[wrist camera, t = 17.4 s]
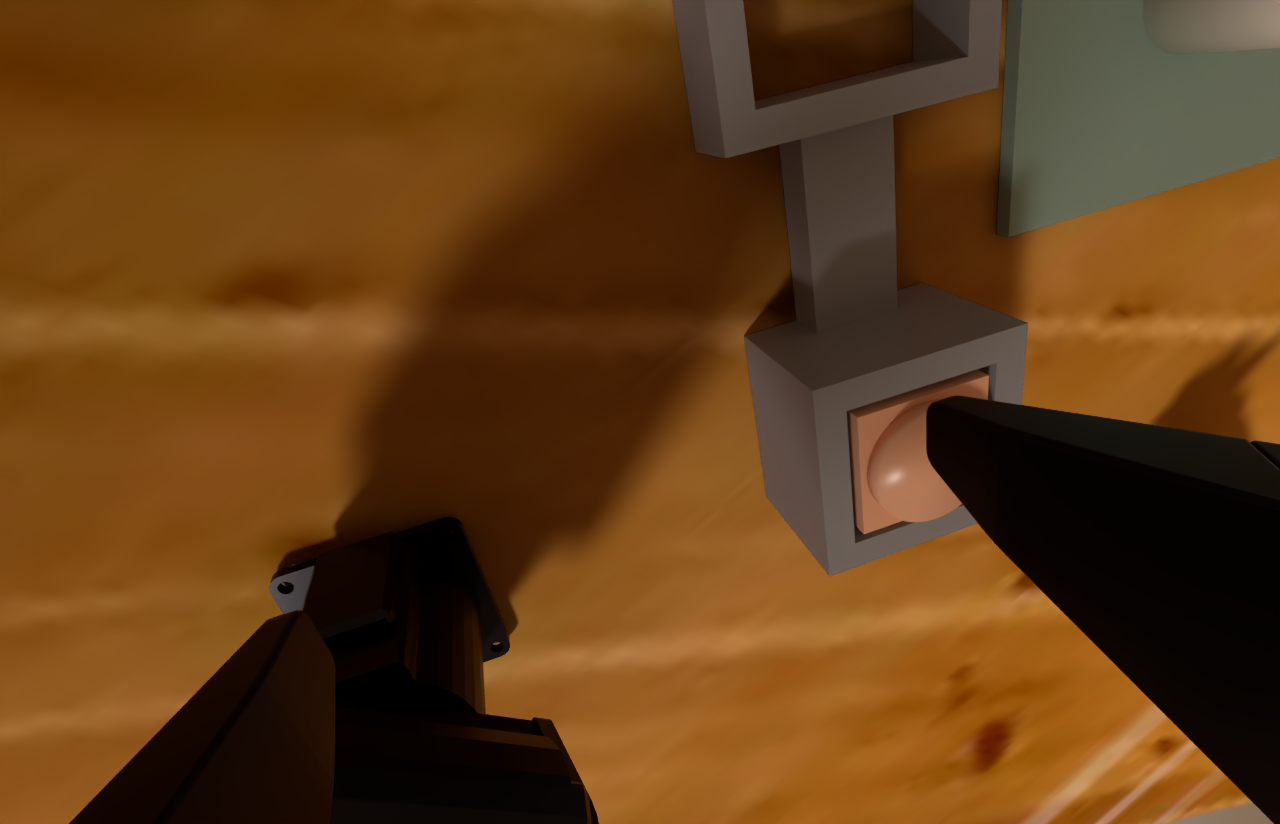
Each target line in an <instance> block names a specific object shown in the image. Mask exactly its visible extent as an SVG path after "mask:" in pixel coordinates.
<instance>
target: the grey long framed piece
mask: <svg viewBox="0 0 1280 824" xmlns="http://www.w3.org/2000/svg"><path fill="white" fill-rule="evenodd" d="M672 2H673V8H674V15H675V21H676V27H677V34H678V40H679V47H680V53H681V60H682V66H683V72H684V79H685V85H686V92H687V98H688V105H689V111H690V117H691V124H692V130H693V137H694V143H695V150H696V152H697V153H702V154H707V155H712V156H717V157H721V158H729V157H733V156H737V155H741V154H745V153H748V152H752V151H756V150H760V149H764V148H768V147H772V146H775V145H779V149H780V159H781V169H782V179H783V189H784V199H785V209H786V219H787V229H788V240H789V250H790V260H791V270H792V280H793V290H794V300H795V310H796V321H793V322H789V323H786V324H783V325H779V326H776V327H773V328H769V329H766V330H763V331H759V332H756V333H753V334H749V335H746V336H744V339H745V346H746V354H747V361H748V368H749V375H750V382H751V389H752V396H753V403H754V410H755V418H756V425H757V432H758V439H759V446H760V453H761V460H762V467H763V475H764V482H765V489H766V496H767V498H768V499H769V501H770V502H771V503H772V504H773V506H774V507H775V508H776V509H777V511H778V512H779V513H780V515H781V516H782V517H783V518H784V520H785V521H786V522H787V523H788V525H789V526H790V527H791V528H792V530H793V531H794V532H795V533H796V535H797V536H798V537H799V538H800V540H801V541H802V542H803V544H804V545H805V546H806V547H807V549H808V550H809V551H810V552H811V554H812V555H813V556H814V557H815V559H816V560H817V561H818V562H819V564H820V565H821V566H822V567H823V569H824V570H825V571H826V573H827V574H828V575H829V576H832V575H834V574H837V573H840V572H843V571H846V570H848V569H851V568H854V567H857V566H860V565H862V564H865V563H868V562H871V561H874V560H876V559H879V558H882V557H885V556H888V555H890V554H893V553H896V552H899V551H902V550H904V549H907V548H910V547H913V546H916V545H918V544H921V543H924V542H927V541H930V540H932V539H935V538H938V537H941V536H944V535H946V534H949V533H952V532H955V531H958V530H960V529H963V528H966V527H969V526H972V525H974V524H977V522H976V520H975V519H974V518H973V517H972V515H971V514H970V513H969V512H968V511H967V509H966V508H965V507H964V506H963V504H961V505H960V506H959V507H957V508H956V509H954V510H953V511H951V512H949V513H947V514H946V515H944V516H941V517H939V518H936V519H933V520H930V521H924V522H907V521H901V522H898V523H895V524H892V525H889V526H887V527H884V528H881V529H878V530H875V531H872V532H869V533H867V534H863V533H862V532H861V531H860V530H859V529H858V528H857V526H856V525H855V524H854V518H853V503H852V487H851V472H850V457H849V442H848V427H847V412H846V411H849V410H852V409H855V408H858V407H861V406H865V405H868V404H871V403H874V402H877V401H880V400H883V399H886V398H889V397H893V396H896V395H899V394H902V393H905V392H908V391H911V390H914V389H917V388H920V387H924V386H927V385H930V384H933V383H936V382H939V381H942V380H945V379H948V378H952V377H955V376H958V375H961V374H964V373H967V372H970V371H973V370H976V369H978V370H980V371H981V372H983V373H985V374H987V375H989V384H988V400H992V401H999V402H1005V403H1012V404H1018V405H1022V394H1023V381H1024V368H1025V355H1026V342H1027V329H1028V323H1026V322H1024V321H1021V320H1018V319H1016V318H1013V317H1011V316H1008V315H1005V314H1003V313H1000V312H998V311H995V310H992V309H990V308H987V307H985V306H982V305H979V304H977V303H974V302H972V301H969V300H966V299H964V298H961V297H959V296H956V295H953V294H951V293H948V292H946V291H943V290H940V289H938V288H935V287H933V286H930V285H927V284H925V283H920V284H917V285H913V286H910V287H907V288H903V289H900V290H897V253H896V208H895V163H894V118H893V115H895V114H899V113H903V112H906V111H910V110H914V109H918V108H922V107H926V106H930V105H933V104H937V103H941V102H945V101H949V100H953V99H956V98H960V97H964V96H968V95H972V94H976V93H980V92H983V91H987V90H991V89H995V88H998V79H999V57H1000V35H1001V13H1002V0H913V62H909V63H905V64H901V65H897V66H893V67H889V68H885V69H881V70H877V71H873V72H869V73H865V74H861V75H857V76H853V77H849V78H845V79H841V80H837V81H833V82H829V83H825V84H821V85H817V86H813V87H809V88H805V89H801V90H797V91H793V92H789V93H785V94H781V95H777V96H773V97H769V98H765V99H761V100H757V101H754V92H753V83H752V74H751V66H750V57H749V48H748V39H747V30H746V21H745V12H744V3H743V0H672Z"/></svg>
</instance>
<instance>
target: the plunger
mask: <svg viewBox="0 0 1280 824" xmlns="http://www.w3.org/2000/svg"><path fill="white" fill-rule="evenodd" d="M988 384H989V375H987V374H985V373H983V372H981V371H980V370H978V369H976V370H973V371H970V372H967V373H964V374H961V375H958V376H955V377H952V378H948V379H945V380H942V381H939V382H936V383H933V384H930V385H927V386H924V387H920V388H917V389H914V390H911V391H908V392H905V393H902V394H899V395H896V396H893V397H889V398H886V399H883V400H880V401H877V402H874V403H871V404H868V405H865V406H861V407H858V408H855V409H852V410H849V411H846V412H847V427H848V442H849V457H850V472H851V487H852V503H853V518H854V524H855V525H856V526H857V528H858V529H859V530H860V531H861V532H862V533H863V534H867V533H869V532H872V531H875V530H878V529H881V528H884V527H887V526H889V525H892V524H895V523H898V522H901V521H907V522H924V521H930V520H933V519H936V518H939V517H941V516H944V515H946V514H947V513H949V512H951V511H953V510H954V509H956V508H957V507H959V506H960V505H961V504H962V503H961V502H960V501H959V499H958V498H957V497H956V496H955V494H954V493H953V492H952V491H951V490H950V488H949V487H948V486H947V485H946V483H945V482H944V481H943V480H942V478H941V477H940V476H939V475H938V473H937V472H936V471H935V470H934V468H933V467H932V466H931V464H930V462H929V459H928V457H927V452H926V412H927V409H928V406H929V405H930V404H931V403H933V402H935V401H938V400H941V399H944V398H947V397H950V396H956V395H959V396H966V397H972V398H979V399H985V400H988Z"/></svg>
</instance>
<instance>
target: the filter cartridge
mask: <svg viewBox="0 0 1280 824" xmlns="http://www.w3.org/2000/svg"><path fill="white" fill-rule="evenodd" d="M1143 18H1144V24H1145V28H1146V32H1147V34H1148V36H1149V38H1150V40H1151V42H1152V43H1153V44H1154V45H1155V46H1156V47H1157V48H1158V49H1159V50H1161V51H1163V52H1165V53H1168V54H1173V55H1179V54H1194V53H1209V52H1224V51H1239V50H1254V49H1269V48H1280V0H1144V1H1143Z"/></svg>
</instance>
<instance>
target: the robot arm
mask: <svg viewBox="0 0 1280 824" xmlns="http://www.w3.org/2000/svg"><path fill="white" fill-rule="evenodd" d="M926 452H927V457H928V459H929V462H930V464H931V466H932V467H933V468H934V470H935V471H936V472H937V473H938V475H939V476H940V477H941V478H942V480H943V481H944V482H945V483H946V485H947V486H948V487H949V488H950V490H951V491H952V492H953V493H954V494H955V496H956V497H957V498H958V499H959V501H960V502H961V503H962V504H963V506H964V507H965V508H966V509H967V511H968V512H969V513H970V514H971V515H972V517H973V518H974V519H975V520H976V522H977V523H978V524H979V525H980V527H981V528H982V529H983V530H984V531H985V533H986V534H987V535H988V536H989V537H990V538H991V539H992V541H993V542H994V543H995V544H996V545H997V546H998V547H999V548H1000V549H1001V550H1002V551H1003V552H1004V554H1005V555H1006V556H1007V557H1008V558H1009V559H1010V560H1011V561H1012V562H1013V563H1014V564H1015V565H1016V566H1017V567H1018V568H1019V569H1020V570H1021V571H1022V572H1023V573H1024V574H1025V575H1026V576H1027V577H1028V578H1029V579H1030V580H1031V581H1032V582H1033V583H1034V584H1035V585H1036V586H1037V587H1038V588H1039V589H1040V590H1041V591H1042V592H1043V593H1044V594H1045V595H1046V596H1047V597H1048V598H1049V599H1050V600H1051V601H1052V602H1053V603H1054V604H1055V605H1056V606H1057V607H1058V608H1059V609H1060V610H1061V611H1062V612H1063V613H1064V614H1065V615H1066V616H1067V617H1068V618H1069V619H1070V620H1071V621H1072V622H1073V623H1074V624H1075V625H1076V626H1077V627H1078V628H1079V629H1080V630H1081V631H1082V632H1083V633H1084V634H1085V635H1086V636H1087V637H1088V638H1089V639H1090V640H1091V641H1092V642H1093V643H1094V644H1095V645H1096V646H1097V647H1098V648H1099V649H1100V650H1101V651H1102V652H1103V653H1104V654H1105V655H1106V656H1107V657H1108V658H1109V659H1110V660H1111V661H1112V662H1113V663H1114V664H1115V665H1116V666H1117V667H1118V668H1119V669H1120V670H1121V671H1122V672H1123V673H1124V674H1125V675H1126V676H1127V677H1128V678H1129V679H1130V680H1131V681H1132V682H1133V683H1134V684H1135V685H1136V686H1137V687H1138V688H1139V689H1140V690H1141V691H1142V692H1143V693H1144V694H1145V695H1146V696H1147V697H1148V698H1149V699H1150V700H1151V701H1152V702H1153V703H1154V704H1155V705H1156V706H1157V707H1158V708H1159V709H1160V710H1161V711H1162V712H1163V713H1164V714H1165V715H1166V716H1167V717H1168V718H1169V719H1170V720H1171V721H1172V722H1173V723H1174V724H1175V725H1176V726H1177V727H1178V728H1179V729H1180V730H1181V731H1182V732H1183V733H1184V734H1185V735H1186V736H1187V737H1188V738H1189V739H1190V740H1191V741H1192V742H1193V743H1194V744H1195V745H1196V746H1197V747H1198V748H1199V749H1200V750H1201V751H1202V752H1203V753H1204V754H1205V755H1206V756H1207V757H1208V758H1209V759H1210V760H1211V761H1212V762H1213V763H1214V764H1215V765H1216V766H1217V767H1218V768H1219V769H1220V770H1221V771H1222V772H1223V773H1224V774H1225V775H1226V776H1227V777H1228V778H1229V779H1230V780H1231V781H1232V782H1233V783H1234V784H1235V785H1236V786H1237V787H1238V788H1239V789H1240V790H1241V791H1242V792H1243V793H1244V794H1245V795H1246V796H1247V797H1248V798H1249V799H1250V800H1251V801H1252V802H1253V803H1254V804H1255V805H1256V806H1257V807H1258V808H1259V809H1260V810H1261V811H1262V812H1263V813H1264V814H1265V815H1266V816H1267V817H1268V818H1269V819H1270V820H1271V821H1272V822H1273V823H1274V824H1280V444H1275V443H1268V442H1262V441H1252V442H1249V441H1248V440H1246V439H1241V438H1234V437H1228V436H1221V435H1215V434H1208V433H1202V432H1195V431H1189V430H1182V429H1175V428H1169V427H1162V426H1156V425H1149V424H1143V423H1136V422H1130V421H1123V420H1117V419H1110V418H1103V417H1097V416H1090V415H1084V414H1077V413H1071V412H1064V411H1058V410H1051V409H1044V408H1038V407H1031V406H1025V405H1018V404H1012V403H1005V402H999V401H992V400H985V399H979V398H972V397H966V396H959V395H956V396H950V397H947V398H944V399H941V400H938V401H935V402H933V403H931V404H930V405H929V406H928V409H927V412H926ZM445 530H453V531H454V532H455V533H454V534H452V535H444V534H443V533H442V532H443V531H445ZM282 582H289V583H292V584H293V586H288V587H287V586H284V585H282V584H281V583H282ZM269 590H270V593H271V595H272V596H273V598H274V599H275V601H276V603H277V604H278V606H279V607H280V609H281V611H282V612H283V615H279V616H276V617H273V618H270V619H269V620H267V621H266V622H265V623H264V624H263V625H262V626H261V627H260V628H259V629H258V630H257V631H256V632H255V633H254V634H253V635H252V636H251V637H250V638H249V639H248V640H247V641H246V642H245V643H244V644H243V645H242V646H241V647H240V648H239V649H238V650H237V651H236V652H235V653H234V654H233V655H232V656H231V658H230V659H229V660H228V661H227V662H226V663H225V664H224V665H223V666H222V667H221V668H220V669H219V670H218V671H217V672H216V673H215V674H214V675H213V676H212V677H211V678H210V679H209V680H208V681H207V682H206V683H205V684H204V685H203V686H202V687H201V688H200V689H199V690H198V691H197V692H196V693H195V695H194V696H193V697H192V698H191V699H190V700H189V701H188V702H187V703H186V704H185V705H184V706H183V707H182V708H181V709H180V710H179V711H178V712H177V713H176V714H175V715H174V716H173V717H172V718H171V719H170V720H169V721H168V722H167V723H166V724H165V725H164V726H163V727H162V728H161V729H160V731H159V732H158V733H157V734H156V735H155V736H154V737H153V738H152V739H151V740H150V741H149V742H148V743H147V744H146V745H145V746H144V747H143V748H142V749H141V750H140V751H139V752H138V753H137V754H136V755H135V756H134V757H133V758H132V759H131V760H130V761H129V762H128V763H127V764H126V765H125V766H124V768H123V769H122V770H121V771H120V772H119V773H118V774H117V775H116V776H115V777H114V778H113V779H112V780H111V781H110V782H109V783H108V784H107V785H106V786H105V787H104V788H103V789H102V790H101V791H100V792H99V793H98V794H97V795H96V796H95V797H94V798H93V799H92V800H91V801H90V802H89V804H88V805H87V806H86V807H85V808H84V809H83V810H82V811H81V812H80V813H79V814H78V815H77V816H76V817H75V818H74V819H73V820H72V821H71V822H70V823H69V824H599V823H598V817H597V813H596V811H595V808H594V805H593V803H592V800H591V798H590V796H589V794H588V792H587V790H586V788H585V786H584V784H583V782H582V780H581V778H580V776H579V774H578V772H577V770H576V768H575V766H574V764H573V762H572V760H571V758H570V756H569V754H568V752H567V750H566V748H565V746H564V744H563V742H562V740H561V738H560V736H559V734H558V732H557V730H556V728H555V726H554V724H553V722H552V721H551V720H550V719H543V718H536V717H534V718H533V719H532V721H531V720H524V719H517V718H509V717H502V716H495V715H488V714H486V713H485V694H484V675H483V662H486V661H489V660H492V659H495V658H497V657H500V656H502V655H504V654H506V653H507V652H508V651H509V648H510V642H509V635H508V633H507V630H506V628H505V625H504V623H503V621H502V618H501V616H500V613H499V611H498V609H497V606H496V604H495V601H494V599H493V597H492V594H491V592H490V589H489V587H488V585H487V582H486V580H485V577H484V575H483V573H482V570H481V568H480V565H479V563H478V561H477V558H476V556H475V553H474V551H473V549H472V546H471V544H470V541H469V539H468V537H467V534H466V532H465V529H464V527H463V525H462V523H461V522H460V521H459V520H458V519H456V518H452V517H447V518H442V519H439V520H436V521H432V522H429V523H426V524H423V525H420V526H417V527H414V528H410V529H407V530H404V531H401V532H398V533H394V532H389V533H386V534H383V535H379V536H376V537H373V538H370V539H367V540H364V541H360V542H357V543H354V544H351V545H348V546H345V547H341V548H338V549H335V550H332V551H329V552H326V553H323V554H320V555H319V557H318V558H316V559H313V560H309V561H306V562H303V563H300V564H297V565H294V566H291V567H287V568H284V569H281V570H279V571H277V572H276V573H275V574H274V575H273V577H272V580H271V583H270V586H269ZM495 642H500V644H498V645H493V643H495Z"/></svg>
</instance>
